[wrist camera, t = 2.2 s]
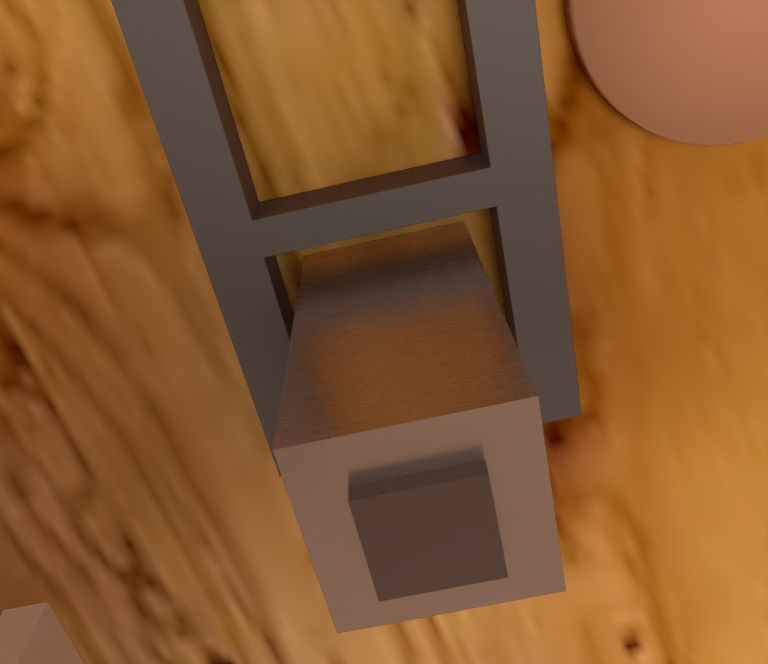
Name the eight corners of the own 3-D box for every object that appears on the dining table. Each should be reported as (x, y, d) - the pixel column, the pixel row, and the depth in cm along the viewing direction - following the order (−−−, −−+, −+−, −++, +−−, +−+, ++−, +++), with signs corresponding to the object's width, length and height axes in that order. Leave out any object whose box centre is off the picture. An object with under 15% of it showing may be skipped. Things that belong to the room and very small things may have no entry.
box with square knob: (342, 391, 22) (336, 650, 14) (303, 256, 20) (270, 464, 12) (487, 361, 22) (571, 607, 14) (463, 220, 20) (543, 409, 12)
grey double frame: (284, 446, 23) (280, 476, 22) (108, -66, 17) (87, -68, 15) (568, 388, 23) (581, 415, 21) (501, -165, 16) (515, -177, 15)
